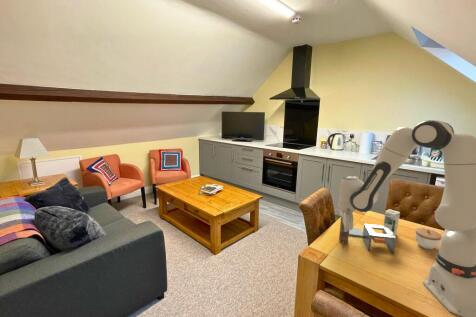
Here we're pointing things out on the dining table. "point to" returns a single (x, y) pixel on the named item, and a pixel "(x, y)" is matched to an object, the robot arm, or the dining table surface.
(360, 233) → the slate pad
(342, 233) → the brown rectangular block
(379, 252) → the dining table surface
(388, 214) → the syrup box
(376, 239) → the button
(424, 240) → the lidded jar
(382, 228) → the frame
